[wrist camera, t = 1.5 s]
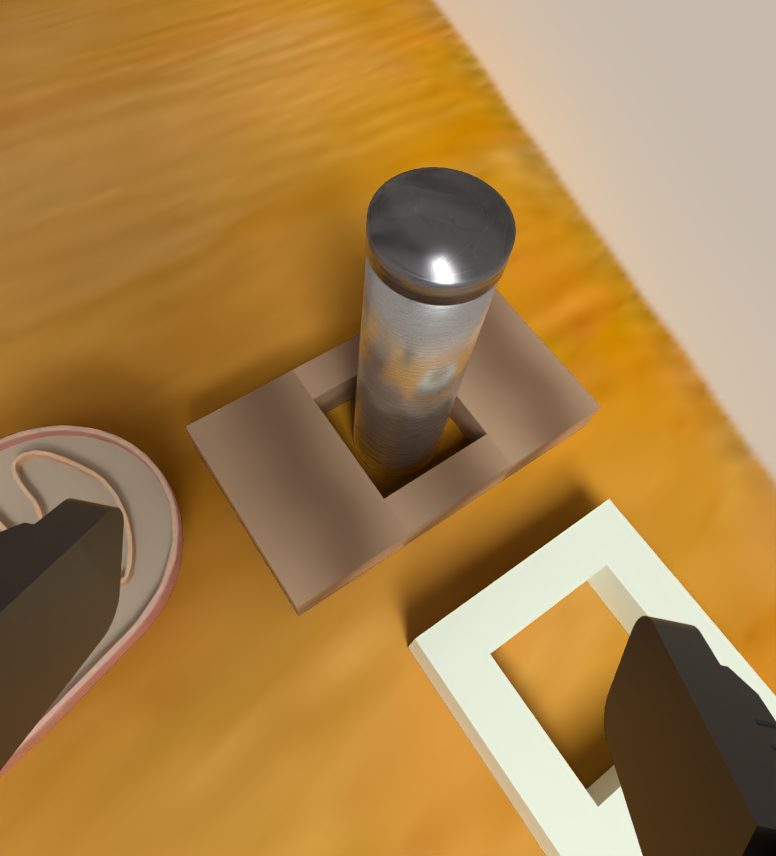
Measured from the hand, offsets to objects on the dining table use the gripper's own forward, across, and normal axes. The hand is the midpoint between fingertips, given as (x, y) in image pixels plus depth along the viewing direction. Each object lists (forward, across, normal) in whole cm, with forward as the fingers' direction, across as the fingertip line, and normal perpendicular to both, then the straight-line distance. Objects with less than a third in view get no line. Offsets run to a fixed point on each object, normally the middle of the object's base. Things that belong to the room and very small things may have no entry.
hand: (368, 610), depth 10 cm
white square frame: (+14, -9, +11) cm, 20 cm away
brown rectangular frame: (+20, 0, +4) cm, 21 cm away
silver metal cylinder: (+20, 0, +4) cm, 21 cm away
